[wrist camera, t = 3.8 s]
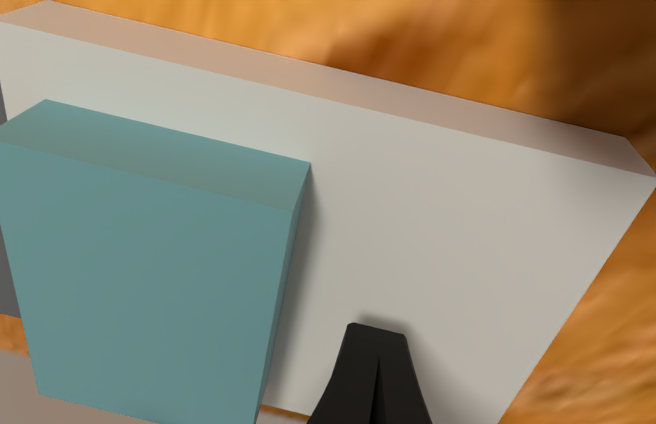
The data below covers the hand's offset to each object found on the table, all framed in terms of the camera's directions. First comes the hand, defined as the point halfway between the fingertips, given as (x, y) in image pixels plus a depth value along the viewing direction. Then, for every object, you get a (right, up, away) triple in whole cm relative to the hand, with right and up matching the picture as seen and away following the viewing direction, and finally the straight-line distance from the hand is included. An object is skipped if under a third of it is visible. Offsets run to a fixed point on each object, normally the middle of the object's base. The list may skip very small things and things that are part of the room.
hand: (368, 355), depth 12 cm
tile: (-5, +2, +1) cm, 6 cm away
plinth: (-2, +3, +3) cm, 4 cm away
